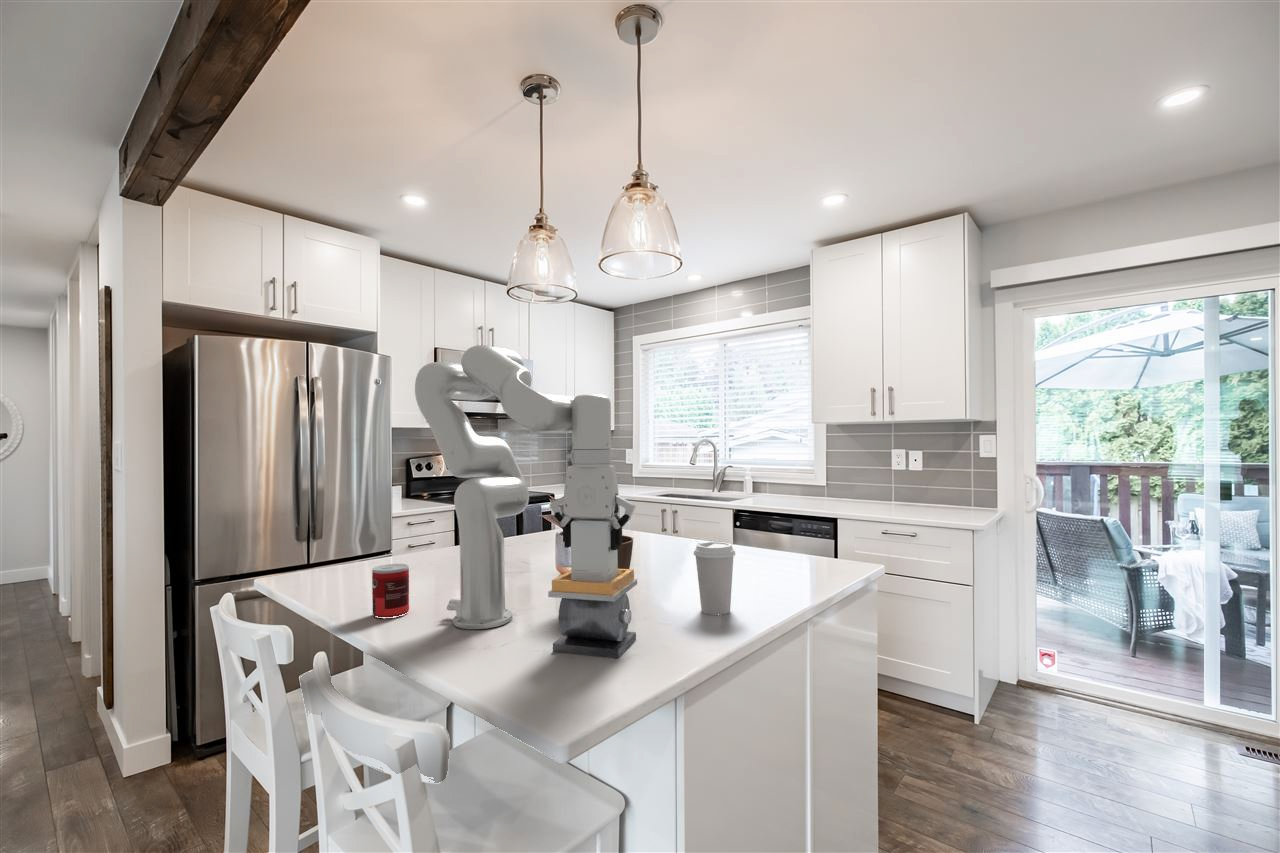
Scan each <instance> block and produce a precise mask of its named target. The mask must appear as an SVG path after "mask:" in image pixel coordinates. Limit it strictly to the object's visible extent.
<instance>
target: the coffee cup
mask: <svg viewBox="0 0 1280 853" xmlns="http://www.w3.org/2000/svg"><path fill="white" fill-rule="evenodd" d="M693 556H694V557H695V561H696V570H697V572H696V573H697V580H698V590H699V591H698V592H699V600H700V610H701V612H702V613H703V614H706V615H709V614H711V615H710V616H721V615H720V614H724V615H727V614H726V613H728V612H729V613H730V612H731V607H732V606H731V602H732V587H733V586H732V585H733V583H732V582H733V568H734V558H735V557H734V556H736V551H735V548H733V545H732V543H730V542H724V541H706V542H705V541H704V542H699V543H697V544H696V547H695V549H694V551H693ZM729 613H728V614H729ZM718 614H719V615H718Z"/></svg>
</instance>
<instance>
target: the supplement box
mask: <svg viewBox="0 0 1280 853" xmlns="http://www.w3.org/2000/svg"><path fill="white" fill-rule="evenodd" d="M612 529H613V525H612V524H611V523H610V521H609V520H608V519H580V518H577V519H575V520H574V521H573V522H571V547H570V561H571V562H570V565H571V566H570V571H571V580H580V581H597V582H610V581H612V580H613V579H615V578H616V577H618V556H617V550H612V549H611V530H612Z"/></svg>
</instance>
